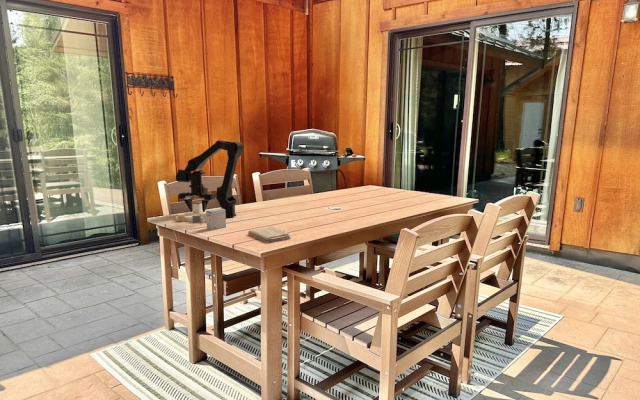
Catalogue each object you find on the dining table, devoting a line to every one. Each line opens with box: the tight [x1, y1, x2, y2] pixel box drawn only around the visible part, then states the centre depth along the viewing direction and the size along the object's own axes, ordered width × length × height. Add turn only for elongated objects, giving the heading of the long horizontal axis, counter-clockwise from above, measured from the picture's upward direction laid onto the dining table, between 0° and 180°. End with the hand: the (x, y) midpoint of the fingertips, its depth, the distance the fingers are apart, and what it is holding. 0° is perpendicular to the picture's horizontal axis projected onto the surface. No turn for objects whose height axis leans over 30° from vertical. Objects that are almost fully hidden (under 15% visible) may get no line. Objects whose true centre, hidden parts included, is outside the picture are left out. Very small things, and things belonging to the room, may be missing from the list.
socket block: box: [175, 212, 206, 223], centre depth 211 cm, size 15×12×3 cm
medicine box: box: [205, 207, 227, 231], centre depth 193 cm, size 8×4×9 cm, turn 141°
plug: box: [192, 200, 204, 213], centre depth 222 cm, size 4×4×7 cm
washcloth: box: [247, 226, 291, 244], centre depth 179 cm, size 12×18×3 cm, turn 38°
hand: (197, 211), depth 222 cm, fingers open, 7 cm apart
